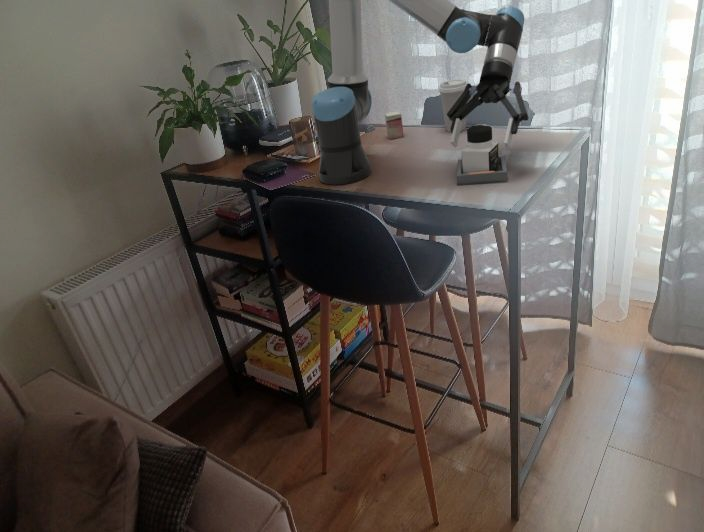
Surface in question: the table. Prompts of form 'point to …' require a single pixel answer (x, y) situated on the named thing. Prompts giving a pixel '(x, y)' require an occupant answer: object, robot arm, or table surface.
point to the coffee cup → (451, 99)
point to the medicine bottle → (480, 150)
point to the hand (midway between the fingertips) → (479, 145)
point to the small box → (394, 125)
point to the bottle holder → (482, 174)
